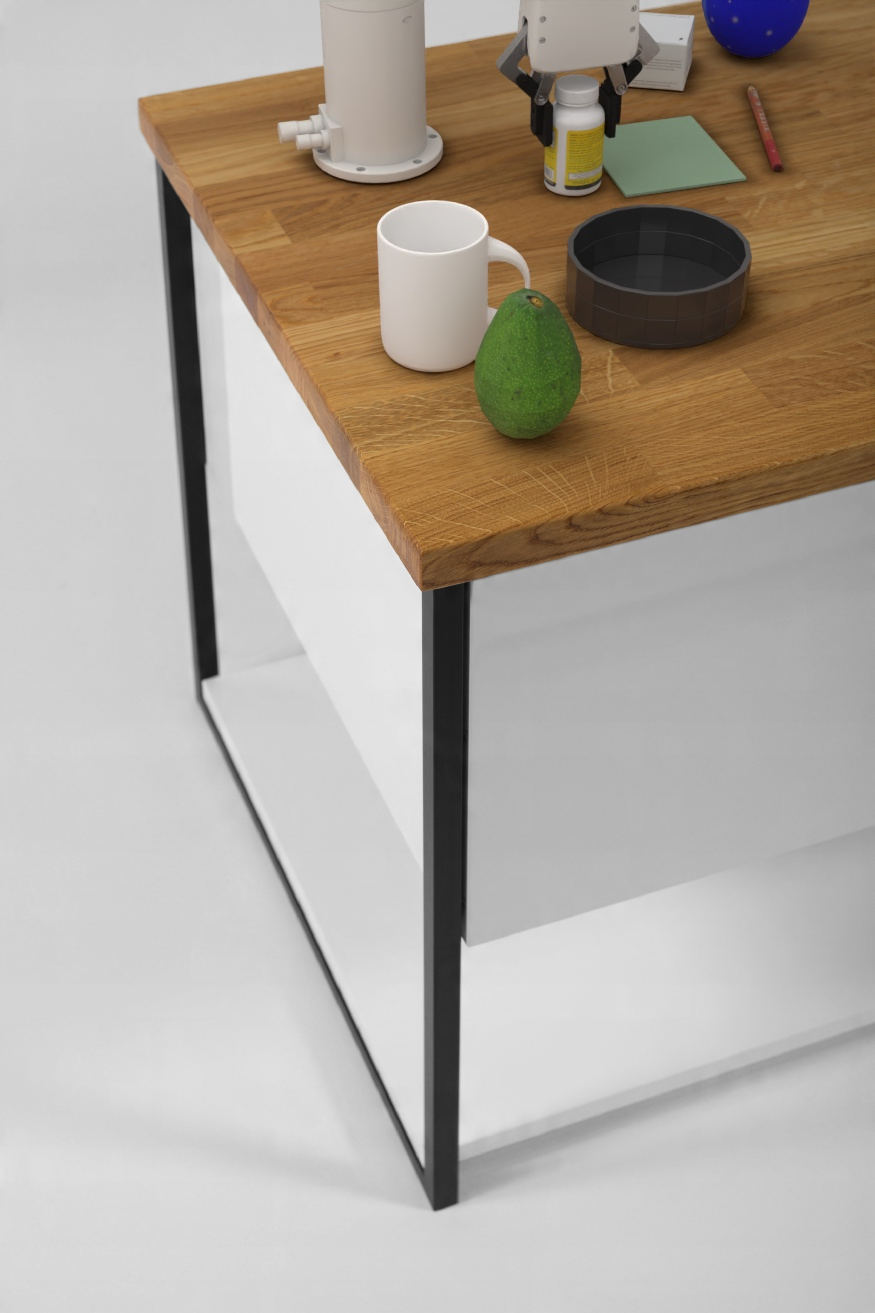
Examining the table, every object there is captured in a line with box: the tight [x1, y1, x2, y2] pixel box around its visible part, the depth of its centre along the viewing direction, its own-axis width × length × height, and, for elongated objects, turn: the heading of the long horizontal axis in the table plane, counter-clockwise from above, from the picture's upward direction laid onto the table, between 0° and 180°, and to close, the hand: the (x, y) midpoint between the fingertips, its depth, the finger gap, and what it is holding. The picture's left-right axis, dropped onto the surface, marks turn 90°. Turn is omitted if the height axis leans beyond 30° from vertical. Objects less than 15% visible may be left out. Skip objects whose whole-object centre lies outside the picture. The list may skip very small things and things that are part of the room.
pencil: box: [746, 83, 784, 173], centre depth 161 cm, size 19×1×1 cm, turn 0°
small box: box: [628, 11, 696, 92], centre depth 169 cm, size 8×8×5 cm
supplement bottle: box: [543, 73, 605, 197], centre depth 150 cm, size 5×5×10 cm
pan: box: [564, 203, 753, 350], centre depth 136 cm, size 15×15×5 cm
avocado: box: [473, 287, 583, 440], centre depth 120 cm, size 8×8×12 cm
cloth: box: [602, 115, 747, 198], centre depth 157 cm, size 12×14×1 cm
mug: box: [376, 199, 531, 373], centre depth 129 cm, size 9×12×11 cm
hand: (574, 134), depth 150 cm, fingers closed on supplement bottle, 5 cm apart
